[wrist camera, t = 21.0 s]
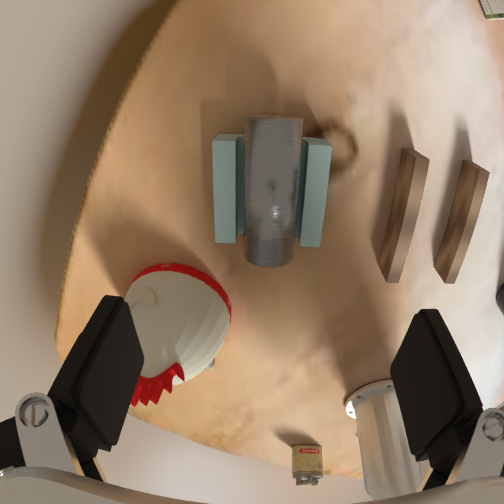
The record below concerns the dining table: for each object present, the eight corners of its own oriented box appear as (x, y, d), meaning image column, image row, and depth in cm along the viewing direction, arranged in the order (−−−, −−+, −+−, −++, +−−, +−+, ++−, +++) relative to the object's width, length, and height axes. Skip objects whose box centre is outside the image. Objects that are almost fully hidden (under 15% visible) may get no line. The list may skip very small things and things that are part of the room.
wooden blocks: (443, 267, 35) (454, 283, 32) (378, 264, 35) (386, 282, 32) (472, 162, 28) (489, 172, 25) (402, 148, 28) (416, 157, 25)
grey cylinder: (291, 241, 33) (295, 268, 29) (244, 240, 33) (242, 266, 29) (299, 114, 26) (307, 122, 22) (245, 112, 26) (243, 119, 22)
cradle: (315, 230, 34) (319, 247, 31) (220, 226, 34) (215, 242, 31) (325, 138, 28) (332, 146, 25) (218, 133, 29) (212, 140, 26)
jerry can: (323, 444, 61) (326, 482, 53) (318, 450, 63) (320, 487, 55) (294, 443, 61) (294, 482, 52) (289, 449, 63) (289, 486, 54)
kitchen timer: (110, 286, 40) (62, 372, 27) (190, 245, 36) (150, 344, 23) (172, 352, 46) (148, 437, 33) (251, 325, 42) (242, 425, 29)
